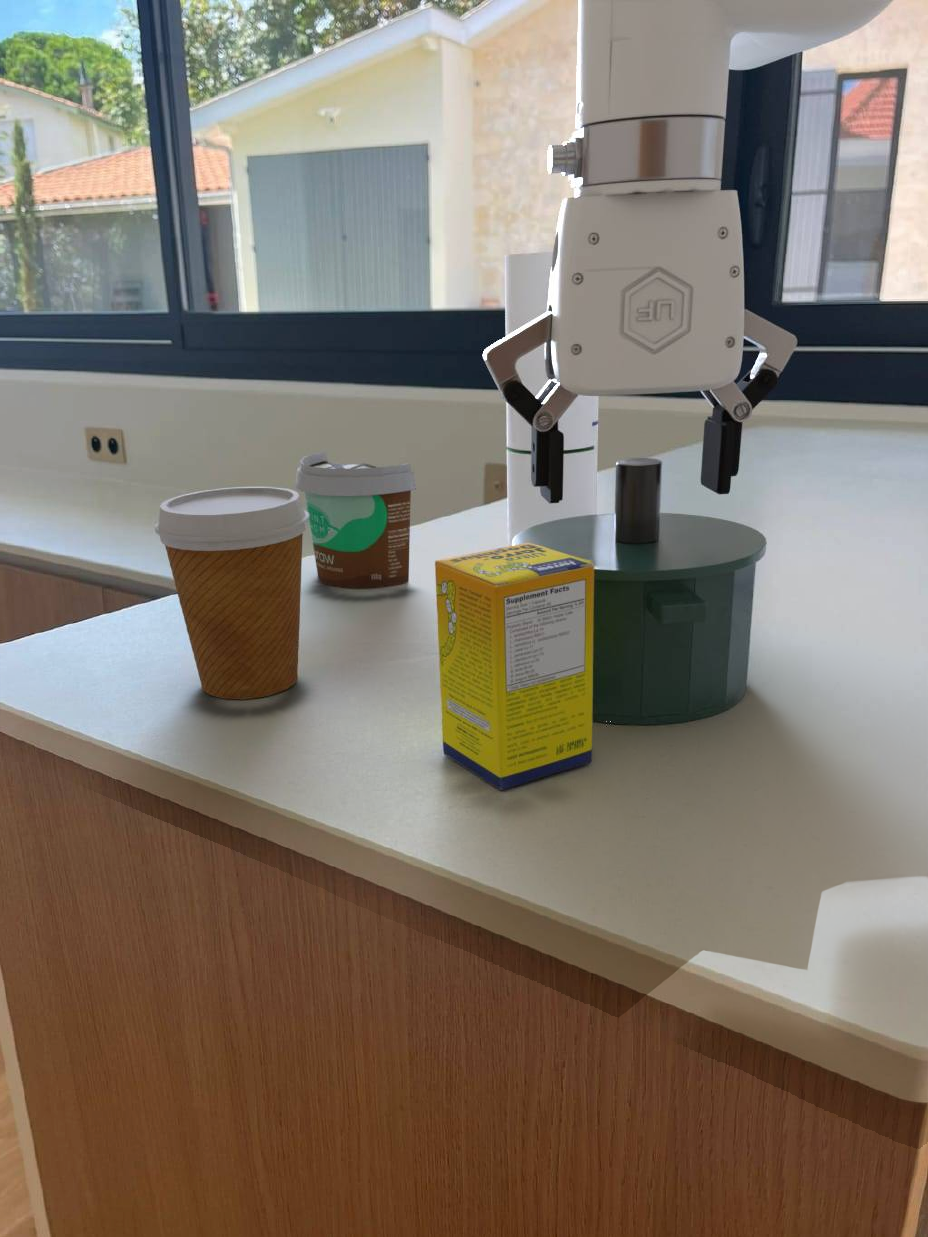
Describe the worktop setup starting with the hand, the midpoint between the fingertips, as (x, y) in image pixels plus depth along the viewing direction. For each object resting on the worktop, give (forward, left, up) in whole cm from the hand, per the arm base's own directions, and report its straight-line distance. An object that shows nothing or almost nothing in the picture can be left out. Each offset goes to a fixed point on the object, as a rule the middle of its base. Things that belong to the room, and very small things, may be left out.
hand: (633, 494), depth 64 cm
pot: (0, 0, -12) cm, 12 cm away
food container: (+17, -29, -12) cm, 35 cm away
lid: (0, 0, -3) cm, 3 cm away
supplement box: (+9, +10, -12) cm, 18 cm away
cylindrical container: (0, -25, -12) cm, 28 cm away
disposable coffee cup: (+24, -5, -12) cm, 27 cm away
